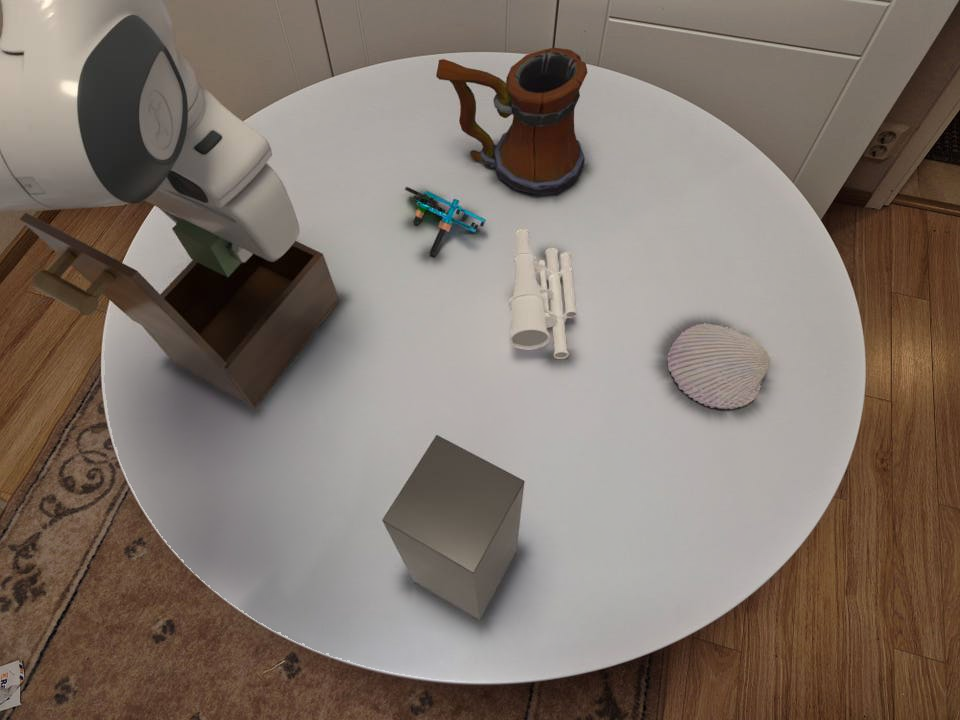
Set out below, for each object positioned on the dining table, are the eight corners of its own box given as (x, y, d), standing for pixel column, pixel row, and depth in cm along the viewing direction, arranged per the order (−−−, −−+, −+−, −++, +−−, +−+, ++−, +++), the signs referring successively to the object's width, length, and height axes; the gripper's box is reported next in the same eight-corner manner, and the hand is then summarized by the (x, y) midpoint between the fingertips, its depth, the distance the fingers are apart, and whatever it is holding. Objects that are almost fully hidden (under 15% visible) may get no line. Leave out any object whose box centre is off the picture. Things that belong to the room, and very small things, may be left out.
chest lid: (25, 212, 51) (-17, 254, 50) (137, 270, 49) (96, 317, 47) (136, 314, 66) (106, 349, 65) (227, 363, 63) (198, 401, 62)
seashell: (789, 399, 67) (695, 387, 65) (759, 420, 72) (670, 409, 70) (772, 311, 72) (684, 298, 70) (745, 336, 77) (661, 324, 75)
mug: (437, 190, 85) (426, 91, 72) (450, 126, 91) (443, 23, 78) (580, 202, 84) (596, 103, 71) (585, 136, 89) (601, 33, 76)
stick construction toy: (500, 220, 80) (460, 199, 73) (475, 275, 81) (433, 258, 75) (433, 191, 87) (391, 169, 80) (411, 241, 88) (368, 223, 82)
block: (228, 277, 63) (210, 247, 59) (191, 259, 65) (171, 228, 61) (258, 244, 65) (242, 212, 61) (221, 227, 66) (204, 194, 62)
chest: (261, 262, 80) (236, 212, 73) (340, 300, 77) (323, 253, 70) (172, 362, 74) (136, 319, 66) (255, 408, 71) (226, 368, 63)
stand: (479, 620, 60) (473, 573, 43) (413, 581, 62) (381, 520, 45) (516, 551, 63) (525, 480, 46) (451, 515, 65) (436, 434, 48)
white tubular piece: (538, 265, 82) (572, 244, 78) (546, 367, 75) (584, 350, 71) (491, 236, 77) (526, 212, 73) (496, 343, 70) (534, 323, 67)
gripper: (26, 108, 53) (113, 225, 65) (231, 203, 48) (284, 311, 60) (86, 60, 55) (159, 181, 68) (286, 146, 50) (326, 260, 62)
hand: (219, 243), depth 64 cm, fingers closed on block, 4 cm apart
